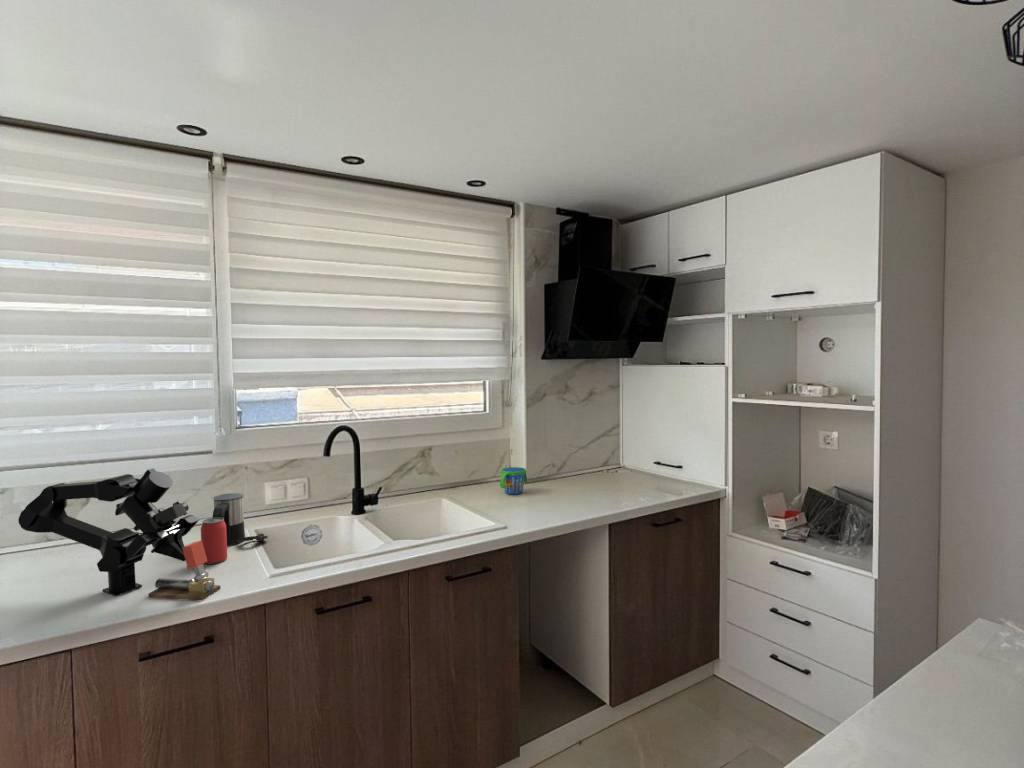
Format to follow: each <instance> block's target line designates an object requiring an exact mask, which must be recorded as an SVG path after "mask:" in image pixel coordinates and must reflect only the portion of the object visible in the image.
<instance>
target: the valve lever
mask: <svg viewBox="0 0 1024 768" xmlns="http://www.w3.org/2000/svg"><path fill="white" fill-rule="evenodd" d="M182 549H183V552H184V556H185V559H186V561H185V563H186V566H187V569H188V570H190V569H193V571H194V574H195V576H194V577H193V579H194V581H195V582H199V581H201V580H203V579H205V578H209V572H208V571H207V570H205V567H204V564H205V562H207V557H206V554H205V550H204V547H203V543H202V540H201V539H200V540H198V541H194V542H192V543H189V544H186V545H184V547H183V548H182Z"/></svg>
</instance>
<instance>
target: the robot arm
mask: <svg viewBox="0 0 1024 768" xmlns="http://www.w3.org/2000/svg"><path fill="white" fill-rule="evenodd" d="M173 483H174V482H173V479H172V478H171V476H169V475H168V474H166V473H164V472H162V471H157V470H156V469H155V468H151V469H150V468H149V469H147V470H146V471H145V472H144V473H143V476H142V477H141V478H137V477H134V475H133V474H130V473H127V474H122V475H118V476H114V477H109V478H108V479H107V478H106V479H103V480H99V481H97V480H96V481H83V482H82V481H81V482H73V483H72V482H70V483H66V482H61V483H58V484H53V485H48V486H46V487H45V488H43V489H42V491H41V492H40V494H39V495H38V496H36V498H34V499H33V500H32V501H31V502H29V503H28V504H27V505H26V506H25V508H24V509H22V511H21V512H20V515H19V517H18V524H19V525H20V526H19V527H20V528H21V529H23V530H24V531H27V532H31V533H37V534H38V533H41V534H44V533H53V534H55V535H58V536H61V537H64V538H66V539H69V540H71V541H74V542H77V543H79V544H82V545H85V546H87V547H89V548H92V549H95V550H98V551H99V552H100V554H101V559H99V560H98V562H97V563H96V566H97V569H98V571H99V572H100V573H101V572H102V573H103V572H104V573H107V579H108V581H107V583H108V587H105V588H102V593H106V594H109V595H111V596H115V597H116V596H120V595H123V594H126V593H129V592H131V591H134V590H138V589H140V588H142V587H143V585H142V584H140V583H138V582H136V565H135V564H136V563H138V562H141V561H143V559H144V555H145V552H146V551H147V547H148V546H150V545H151V547H152V549H151V550H150V553H151V554H159V555H163V556H166V557H169V558H173V559H175V560H179V561H180V562H181V561H182V562H186V559H185V556H184V552H183V549H182V548H183V547H185V544H184V541H183V537H184V536H186V535H187V534H188V533H189V532H190V531H191V530H192V529H193V528H194V527H195V526H196V525H197V524H198V522H199V519H198V518H197V517H196V516H195V515H194V514H189V515H188V513H187V511H189V505H188V503H186V502H185V500H183V499H180V500H177V501H176V502H173V503H172V506H169V507H168V508H167V507H166V508H164V507H160V508H157V506H155V505H154V504H153V503H157V502H159V501H160V500H161V498H162V497H164V495H165V494H166V493H167V491H168V490H169V489H170V488H171V487H172V486H173ZM77 499H80V500H82V499H97V500H98V501H100V502H101V501H102V502H103V501H104V502H116V501H118V500H122V499H124V501H123V502H120V503H117V504H116V509H115V513H114V515H115V516H120V515H122V514H125V515H126V516H127V517H128V518H129V519H130V520H131V522H132V523H134V525H135V526H134V527H133V528H132V529H133V530H134V531H133V530H131V529H129V528H125V527H124V528H122V529H118V530H117V531H113V532H112V531H110V530H106V529H104V528H101V527H99V526H96V525H93V524H90V523H87V522H86V521H82V520H80V519H78V518H75V517H72V516H69V515H68V514H67V511H66V508H67V506H68V503H67V502H68V500H77ZM180 517H181V518H180ZM179 518H180V519H179ZM177 519H179V520H177ZM139 531H141V532H142V533H141V534H140V532H139Z"/></svg>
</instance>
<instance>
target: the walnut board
mask: <svg viewBox="0 0 1024 768" xmlns="http://www.w3.org/2000/svg"><path fill="white" fill-rule="evenodd" d="M214 587H215V588H213V589H212V591H208V592H206V593H205V594H193V593H189V591H188V590H179V589H161V588H156V589H155V590H153V591H151V592H148V593H147V595H148V596H147V597H148V599H163V598H165V600H179V599H188V600H187V601H196V600H202V601H204V600H205V599H207V598H208V596H209V595H210V596H211V594H212V595H214V592H215V593H216V592H218V591H220V590H221V584H220V585H219V584H214ZM219 589H220V590H219ZM217 590H218V591H217ZM210 596H209V597H210ZM206 597H207V598H206ZM203 599H204V600H203Z"/></svg>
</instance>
